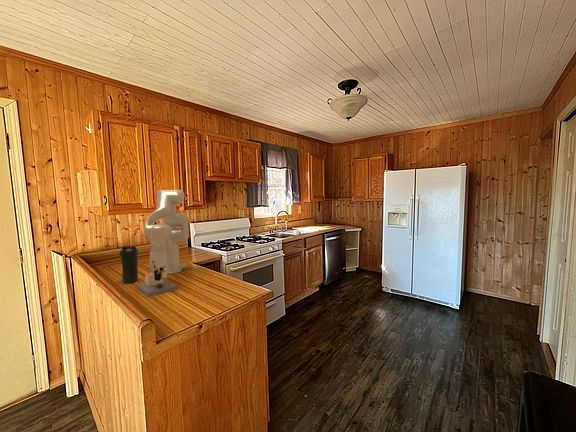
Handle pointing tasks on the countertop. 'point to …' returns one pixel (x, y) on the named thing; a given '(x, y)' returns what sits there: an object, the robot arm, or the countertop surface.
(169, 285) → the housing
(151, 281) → the cream rectangular block
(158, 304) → the countertop surface
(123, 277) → the water bottle
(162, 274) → the key
